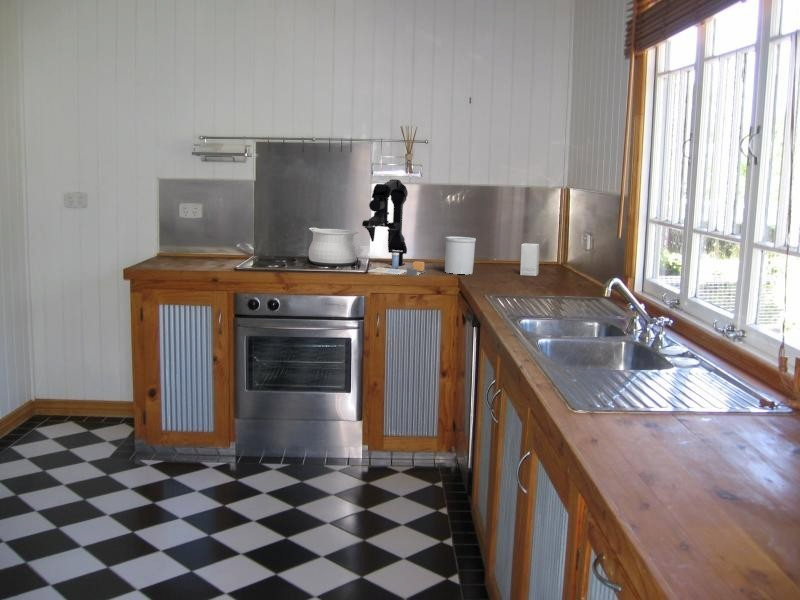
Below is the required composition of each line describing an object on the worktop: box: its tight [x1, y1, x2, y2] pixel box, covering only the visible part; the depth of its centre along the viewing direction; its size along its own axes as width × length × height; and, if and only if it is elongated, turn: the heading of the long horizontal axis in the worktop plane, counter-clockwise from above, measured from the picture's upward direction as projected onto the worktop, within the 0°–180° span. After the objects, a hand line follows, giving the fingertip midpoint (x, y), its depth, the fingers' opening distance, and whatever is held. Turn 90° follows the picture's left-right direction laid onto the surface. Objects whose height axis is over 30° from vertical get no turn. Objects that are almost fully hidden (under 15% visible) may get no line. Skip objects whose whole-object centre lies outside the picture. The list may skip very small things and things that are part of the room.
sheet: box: [367, 267, 407, 275], centre depth 431 cm, size 15×16×1 cm
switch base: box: [406, 268, 427, 277], centre depth 427 cm, size 14×5×3 cm, turn 160°
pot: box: [308, 227, 359, 267], centre depth 449 cm, size 28×24×17 cm
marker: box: [391, 253, 399, 269], centre depth 439 cm, size 3×3×8 cm
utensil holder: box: [444, 236, 477, 276], centre depth 435 cm, size 15×15×18 cm
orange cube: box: [412, 260, 425, 271], centre depth 430 cm, size 4×4×4 cm
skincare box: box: [519, 242, 540, 277], centre depth 439 cm, size 8×7×16 cm
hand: (380, 242), depth 430 cm, fingers open, 9 cm apart
